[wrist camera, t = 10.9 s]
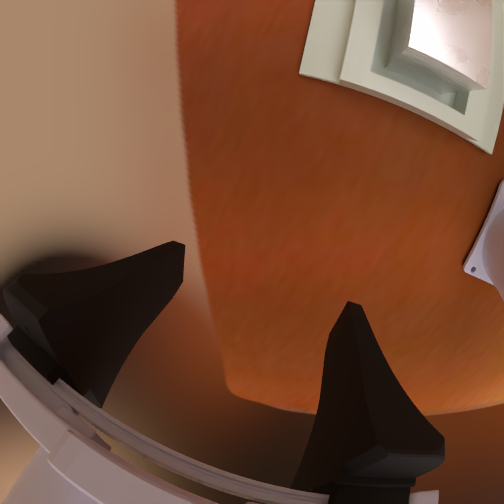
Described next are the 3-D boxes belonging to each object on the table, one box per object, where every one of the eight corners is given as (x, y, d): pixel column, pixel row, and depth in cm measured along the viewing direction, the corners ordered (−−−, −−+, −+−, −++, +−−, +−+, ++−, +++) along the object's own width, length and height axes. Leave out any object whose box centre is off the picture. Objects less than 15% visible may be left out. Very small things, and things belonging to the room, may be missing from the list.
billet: (452, 22, 8) (491, -5, 3) (442, 94, 11) (487, 89, 6) (397, -4, 9) (417, -45, 4) (384, 68, 12) (408, 46, 7)
